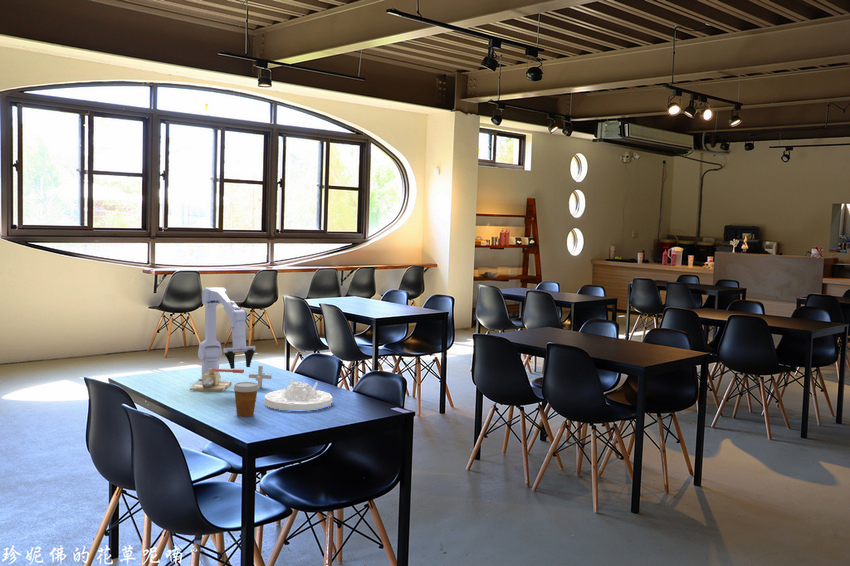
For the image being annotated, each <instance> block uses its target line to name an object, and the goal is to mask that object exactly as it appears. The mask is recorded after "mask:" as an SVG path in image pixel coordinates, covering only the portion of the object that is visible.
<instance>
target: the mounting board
mask: <svg viewBox="0 0 850 566" xmlns="http://www.w3.org/2000/svg"><path fill="white" fill-rule="evenodd" d="M202 382H203V380H199V381H198V382H197V383H195V384H194V385H192V386H191V387H189V391H190V390H193V391H192V392H213V393H217V392H218V393H222V392H224V391H225V390H226V389H227V388H229V387H230V386H231V385H232V381H220V382H219V384H218V385H217V386H216V387H214V386H212V388H203V386H202Z"/></svg>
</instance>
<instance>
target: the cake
mask: <svg viewBox="0 0 850 566" xmlns="http://www.w3.org/2000/svg"><path fill="white" fill-rule="evenodd" d="M289 383H290V385H287V387H286V388H285V386H282V387H283V389H279V390H274V391H270V392H267V393H266V394H265V395H264V400H263V401H264V406H265V405H266V406H265V407H267V406H268V407H267V408H269V407H270V408H269V409H271V408H274V409H273V410H275V409H279V410H278V411H280V410H295V411H296V410H310V409H316V408H321V407H324V406H327V405H330V404H331V403H332V404H333V398H334V397H333V396H332V395H331V393H329V392H326V391H324V390H323V391H322V390H319V389H317V386H318V381H316V382H315V383H314V384H313V387H312V385H310V384H309V383H307V382H302V381H301V380H298V381H294V380H293V378H291V379H290V382H289ZM316 389H317V390H316Z"/></svg>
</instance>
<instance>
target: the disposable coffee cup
mask: <svg viewBox="0 0 850 566" xmlns="http://www.w3.org/2000/svg"><path fill="white" fill-rule="evenodd" d="M232 388H233V390H234V400H235V409H236V410H235V411H236V416H238V417H241V418H249V417H252V416H254V414H255V409H256V408H255V407H256V403H257V395H258V391H259V389H260V388H259V387H258V382H257V383H256V382H253V381H252V382H251V381H240V382H236V383H235V384H234V386H233V387H232ZM248 416H249V417H248Z"/></svg>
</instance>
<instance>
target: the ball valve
mask: <svg viewBox="0 0 850 566" xmlns="http://www.w3.org/2000/svg"><path fill="white" fill-rule="evenodd" d="M220 376H221V372H219V373H215V372H214V371H209V372H207V373H205V374H204V375H203V380H202V381H203V382H202V386H203V388H212V386H214V387H216V386H217V385H218V384H219V382H220V379H221V377H220Z"/></svg>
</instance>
